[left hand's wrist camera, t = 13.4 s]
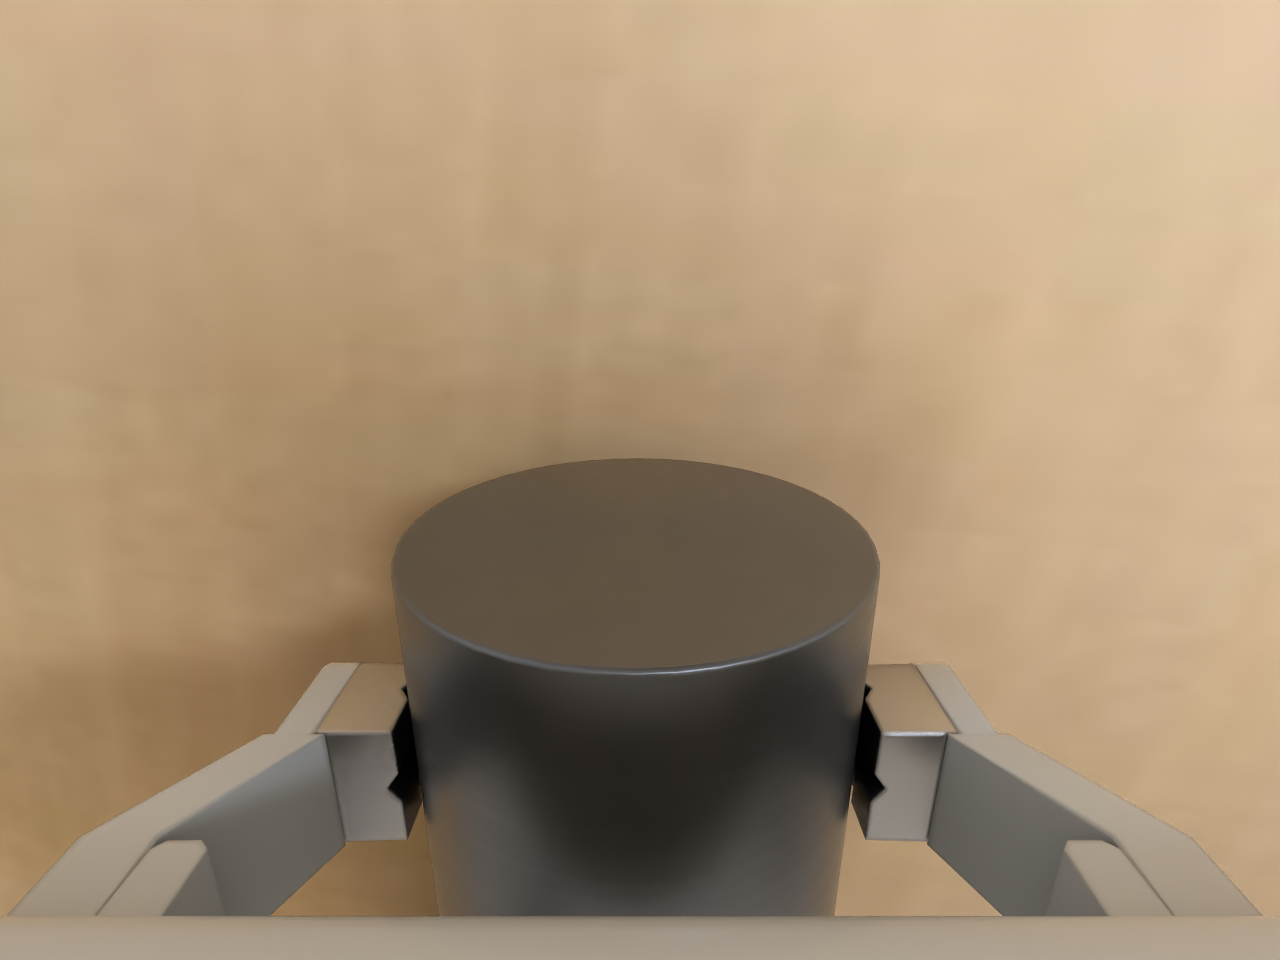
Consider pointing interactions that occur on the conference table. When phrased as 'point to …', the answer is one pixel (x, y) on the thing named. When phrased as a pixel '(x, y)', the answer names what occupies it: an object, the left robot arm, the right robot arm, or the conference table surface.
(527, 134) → the conference table surface
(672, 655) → the rod
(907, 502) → the conference table surface
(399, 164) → the conference table surface
